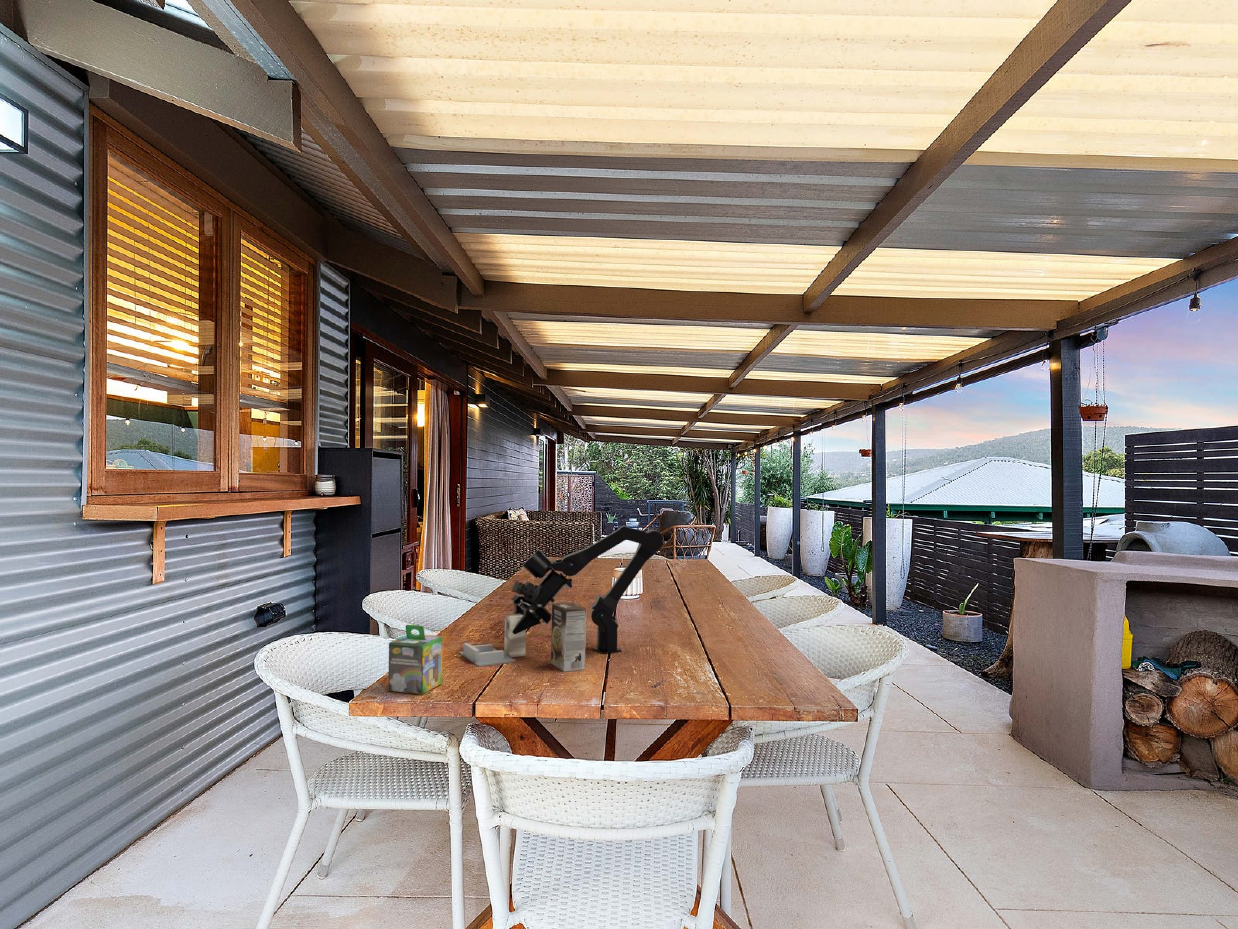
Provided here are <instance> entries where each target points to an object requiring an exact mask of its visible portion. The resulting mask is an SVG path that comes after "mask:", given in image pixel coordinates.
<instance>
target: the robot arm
mask: <svg viewBox="0 0 1238 929" xmlns="http://www.w3.org/2000/svg"><path fill="white" fill-rule="evenodd" d="M625 541H629V542H631V543H632V542H633V543H637V544H638V545H637V547H636V550H635V553H634V555H633V556H632V557H631V559H630V560H629V562H628V563H627V564H626V566H625V567H624V569H623V570H622V571H621V573H620V575H619V576H618V577H617V579H616V580H615V581H614V583H613V585H612V586H611V588H610V589H609V590H608V591H607V592H606V593H605V594H604V595H602V594H601V593H598V595H597V596H596V599H595V601H594V602H592V603H591V609H590V615H591V616H590V617H591V620H592V621H591V622H592V623H593V624H594V625H596V626H597V629H596V630H597V631H596V646H594V647H593V646H592V650H593V651H596V652H598V653H600V654H610V653H611V654H612V653H619V652H622V651H623V650H622V648H619V647H618V633H619V632H618V628H619V624H618V620H617V618H616V617H615V616H614V613H615V611H616V609H617V606H618V603H619V601H620V600H621V598H622V597H623V595H624V594H625V593H626V591H627V589H628V588H629V587H630V586H631V584H632V582H633V580H635V578H636V576H637V575H638V574H639V573H640V571H641V569H642V568H643V566H644V565H645V564H646V562H647V561H648V560H650V559H651V558H652V557H654V555H656V554H657V552H658V551H659V550H661V548H662V547H663V546H664V542H665V540H664V536H663V534H661V532H659V531H657V530H655V529H648V530H646V531H645V530H642V529H638V528H633V527H629V526H628V525H622V526H620V527H619V528H618V529H616V530H615V531H613V532H611V533H609V534H608V535H606V536H604V537H602V538H601V539H599V540H598V541H596V542H594V543H593V544H591V545H589V546H588V547H586V548H583V549H581V550H577V551H576V550H575V551H574V552H572V553H569V554H566V555H565V556H563V557H562V559H554V560H550V558H548V557H547V556H546V555H545V554H544V552H543V551H542V550H541V549H537V550H536V552H534V553H533V554H532V555H530V557H528V559H526V561H525V562H524V563H523V564H522V565H521V567H523V568H524V569H525V570H526V571H527V572H528V573H529V574H530V575H531V576H532V577H534V578H535V579H541V580H542V579H543V578H544V579H543V580H542V581H541V582H540V583H539V584H534V583H531V582H529V581H526V583H523V582H521V581H518V580H515V581H514V584H513V586H512V589H511V592H514V593H516V594H514V595H513V597H512V598H511V599H510V600H511V602H512V603H513V606H514V610H513V614H519V613H520V614H522V615H523V617H522V618H521V620H520V621H519V622H518V624H517V625H516V627H515V628H514V630H513V631H512V632H513V633H514V634H517V633H519V632H522V631H524V630H526V631H527V630H528V629H530V628H533V627H534V626H536V625H541V624H542V623H543V624H545V625H548V624H549V623H550V621H551V622H552V613H551V612H550V611H549V610H547V608H546V607H547V606H548V605H549V604H550V603H552V604H554V602H555V601H556V600H555V597H556V596H557V595H558V594H559V592H561V590H562V589H563V588H564V587H566V588H567V589H569V590H570V589H572V588H573V579H572V578H567V577H574V576H576V575H578V573H580V572H581V571H582V570H583V569H584V568H585V567H586V566H588V564H590V563H591V562H592V561H593V560H595V559H597V558H598V557H600V556H601V555H603V554H605V553H606V552H608V551H609V550H612V549H613V548H614V547H616V546H618V545H619V544H622V543H623V542H625ZM548 572H549V573H548ZM558 572H559V573H558ZM547 574H548V575H547ZM544 576H545V577H544ZM541 621H542V622H541Z"/></svg>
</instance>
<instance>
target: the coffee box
mask: <svg viewBox="0 0 1238 929" xmlns="http://www.w3.org/2000/svg"><path fill="white" fill-rule="evenodd" d="M551 615H552V619H551V638H550V639H551V642H550V644H551V645H550V646H551V648H550V649H551V650H550V664H551V665H553V666H554V667H556V668H558V669H559V670H561V671H562V672H564V673H565V672H574V671H575V672H576V671H583V670H585V669H586V641H587V640H586V639H587V638H586V637H587V608H586V607H584V606H581V605H579V604H576V603H574V602H557V603H552V604H551Z"/></svg>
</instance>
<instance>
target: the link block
mask: <svg viewBox="0 0 1238 929" xmlns="http://www.w3.org/2000/svg"><path fill="white" fill-rule="evenodd" d="M522 617H523V615H522V614H520V613H519V614H514V613H511V614H510V613H509V614H504V640H503V641H504V644H503V645H504V647H503V648H504V650H503V651H504V654H505V655H507V656H508V657H510V658H517V657H525V656H526V644H527V643H526V640H527V639H526V638H527V633H526V632H527V629H526V630H524V631H522V632H519V633H517V634H514V633H513V632H512V631H513V630H514V628H515V627H516V625H517V624H518V622H519V621H520V620H521V618H522Z"/></svg>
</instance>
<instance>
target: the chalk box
mask: <svg viewBox="0 0 1238 929" xmlns="http://www.w3.org/2000/svg"><path fill="white" fill-rule="evenodd" d="M424 628H425V627H424V626H423V625H420V624H419V625H417V624H415V625H414V624H406V625H405V632H406V635H405V636H401V637H399V638H396V639H394V640H392V641H389V643H388V692H394V693H395V692H396V693H404V694H410V695H418V696H422V695H424V694H426V693H428V692H429V691H431V690H433V689H434V688H437V687H438V686H440V685H442V684H443V636H442V635H434V634H433V635H432V634H425V629H424ZM413 630H414V631H415V630H416V631H417V632H418V634H413V633H412V631H413Z"/></svg>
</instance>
